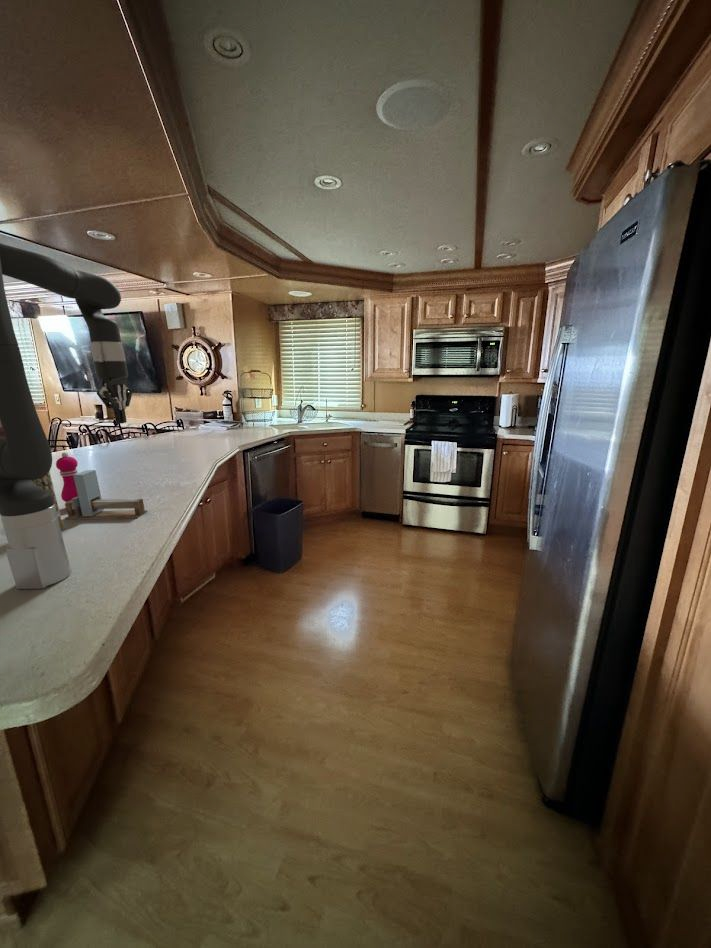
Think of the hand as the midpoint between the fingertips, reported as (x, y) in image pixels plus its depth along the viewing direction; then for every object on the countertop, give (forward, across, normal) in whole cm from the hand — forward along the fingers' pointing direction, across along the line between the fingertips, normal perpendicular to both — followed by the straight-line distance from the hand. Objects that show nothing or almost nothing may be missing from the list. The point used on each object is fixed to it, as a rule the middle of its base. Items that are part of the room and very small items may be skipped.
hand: (121, 423), depth 107 cm
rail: (+32, -10, -17) cm, 38 cm away
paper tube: (+32, +2, -27) cm, 42 cm away
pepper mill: (+32, -19, -34) cm, 51 cm away
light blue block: (+32, -10, -22) cm, 40 cm away
